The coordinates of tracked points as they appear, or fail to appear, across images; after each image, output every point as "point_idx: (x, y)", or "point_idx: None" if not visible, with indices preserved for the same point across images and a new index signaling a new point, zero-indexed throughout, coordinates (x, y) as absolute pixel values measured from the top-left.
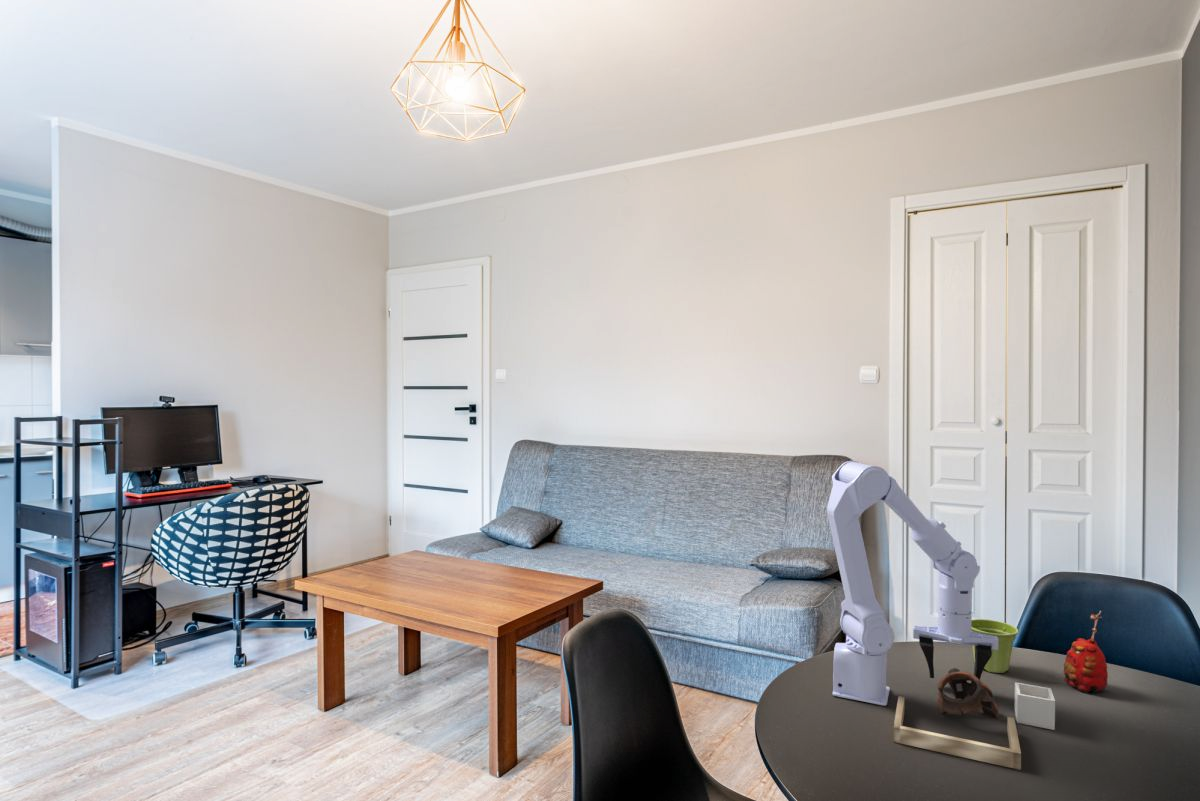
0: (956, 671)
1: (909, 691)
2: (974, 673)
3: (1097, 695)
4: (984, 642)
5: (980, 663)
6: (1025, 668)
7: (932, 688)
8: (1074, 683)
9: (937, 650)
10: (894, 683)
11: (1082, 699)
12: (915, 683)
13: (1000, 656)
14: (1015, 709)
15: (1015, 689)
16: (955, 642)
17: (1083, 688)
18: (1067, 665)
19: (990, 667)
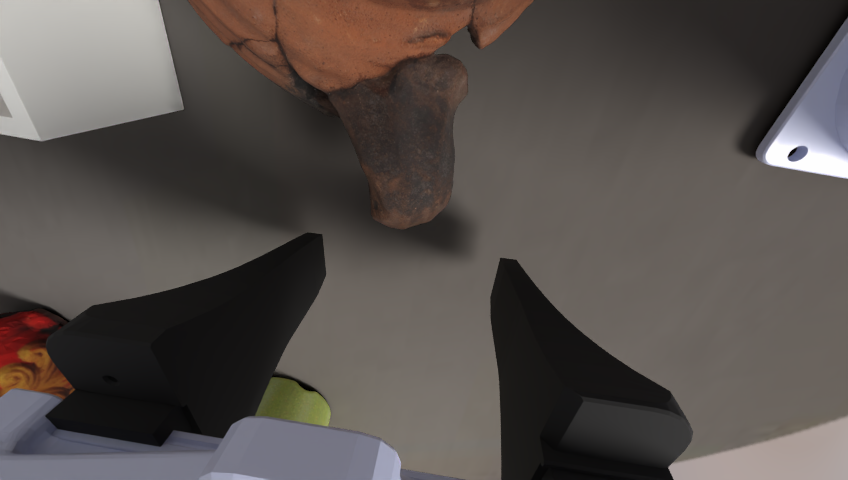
0: (395, 141)
1: (631, 169)
2: (308, 289)
3: (16, 300)
4: (36, 458)
5: (221, 288)
6: None
7: (502, 230)
8: None
9: (421, 464)
10: (670, 239)
11: (33, 266)
12: (564, 260)
13: None
14: (146, 43)
15: (43, 72)
16: (317, 432)
17: (32, 316)
18: None
19: (282, 391)
